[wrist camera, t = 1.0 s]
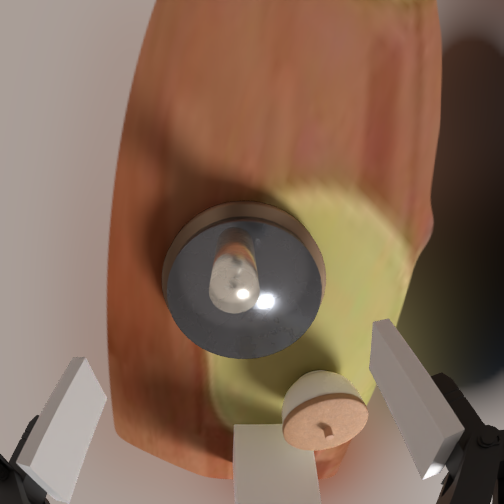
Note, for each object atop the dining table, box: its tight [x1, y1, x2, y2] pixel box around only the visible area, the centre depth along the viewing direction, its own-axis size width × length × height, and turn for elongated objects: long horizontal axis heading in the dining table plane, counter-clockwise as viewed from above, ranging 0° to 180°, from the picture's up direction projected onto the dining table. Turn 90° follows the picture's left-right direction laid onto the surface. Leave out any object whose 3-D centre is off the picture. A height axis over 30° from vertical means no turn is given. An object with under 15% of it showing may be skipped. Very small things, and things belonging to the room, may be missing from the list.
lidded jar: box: [282, 370, 368, 451], centre depth 36 cm, size 11×11×9 cm
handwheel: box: [167, 216, 322, 359], centre depth 27 cm, size 15×15×11 cm
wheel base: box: [162, 201, 326, 313], centre depth 34 cm, size 17×17×2 cm
